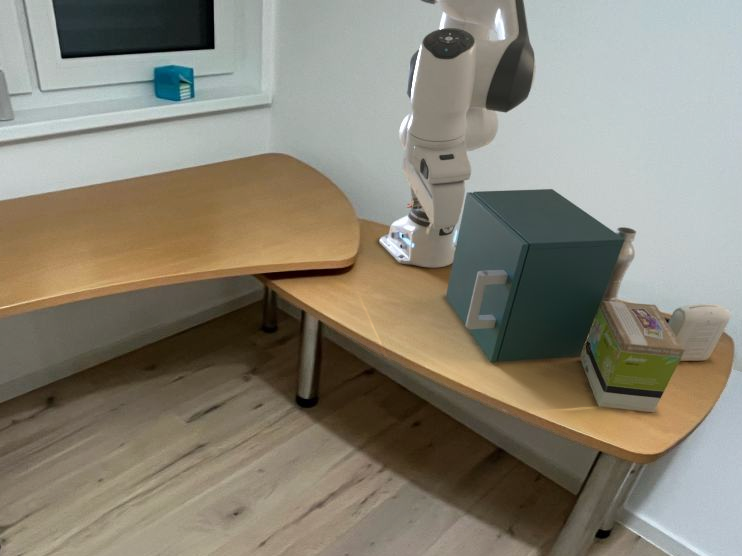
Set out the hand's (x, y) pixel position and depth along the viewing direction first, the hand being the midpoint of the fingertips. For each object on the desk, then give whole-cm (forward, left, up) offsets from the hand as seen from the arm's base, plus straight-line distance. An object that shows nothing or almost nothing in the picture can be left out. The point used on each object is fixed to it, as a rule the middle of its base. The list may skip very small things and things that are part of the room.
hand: (423, 221), depth 100 cm
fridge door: (-4, +18, -30) cm, 35 cm away
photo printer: (+25, +53, -30) cm, 66 cm away
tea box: (+26, +32, -30) cm, 50 cm away
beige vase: (+5, +53, -30) cm, 61 cm away
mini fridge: (+1, +30, -30) cm, 42 cm away
